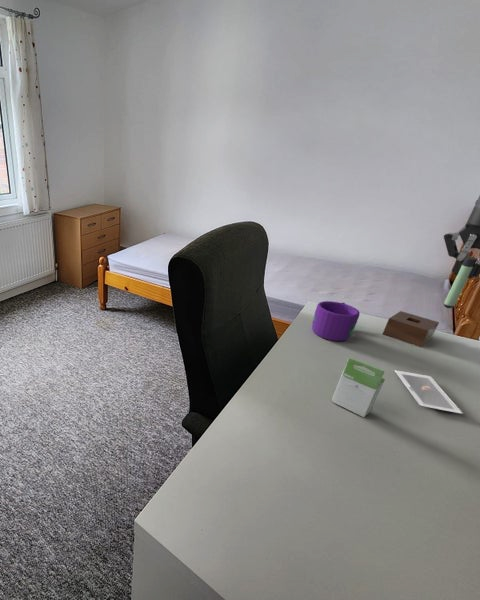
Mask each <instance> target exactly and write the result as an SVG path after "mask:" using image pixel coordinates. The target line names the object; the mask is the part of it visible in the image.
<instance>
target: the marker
mask: <svg viewBox="0 0 480 600" xmlns="http://www.w3.org/2000/svg"><path fill="white" fill-rule="evenodd" d="M477 261H478V258H476V257H473V256H467V257H466V258H465V260H464V262H463V264H462V266H461V268H460V271H459V273H458V275H456V277H455V279H454V281H453V283H452V285H451V288H450V290H449V291H448V293H447V296H446V298H445V300H444V301H443V306H444V307H445V308H446V309H452V308H454V307H455V305H456V304H457V302H458V300H459V297H460V296H461V294H462V291H463V289H464V287H465V286H466V284H467V281H468V279H469V278H468V276H469V274H470V273H471V271H472V269H473V267H474V265H475V264H476V263H477Z"/></svg>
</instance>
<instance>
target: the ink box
mask: <svg viewBox="0 0 480 600" xmlns="http://www.w3.org/2000/svg"><path fill="white" fill-rule="evenodd" d="M360 367H362V368H365V369H367V370H369V371H371V372H369V371H367V370H364V369H362V368H360ZM372 372H373V373H372ZM384 374H385V370H383V369H380V368H378V367H375V366H372V365H370V364H368V363H365V362H362V361H359V360H357V359H354V358H351V357H348V358H347V360H346V364H345V367H344V369H343V370H342V372H341V375H340V377H339V381H338V383H337V385H336V388H335V391H334V392H333V396H332V399H331V403H334V404H336V405H338V406H339V407H342V408H344V409H346V410H348V411H350V412H352V413H354V414H355V415H358V416H359V417H362V418H365V417H366V416H367V415H368V414H370V412H371V410H372V409H373V406H374V404H375V401H376V399H377V398H378V396H379V393H380V391H381V389H382V386H383V384H384V382H385V380H386V379H385V378H383V376H384Z"/></svg>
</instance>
